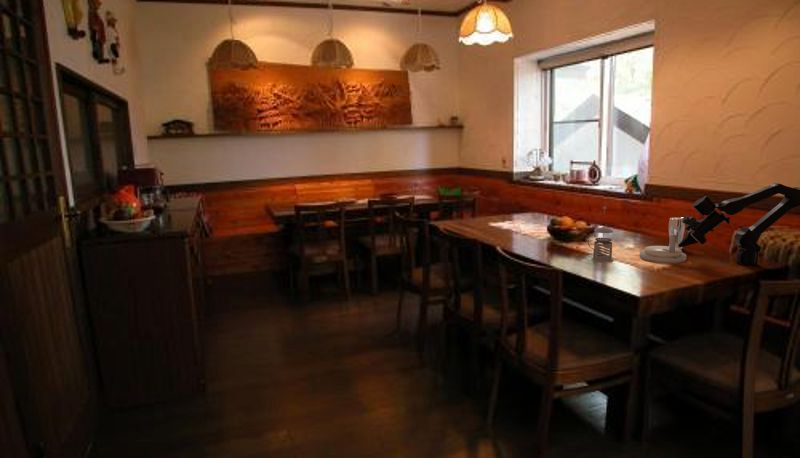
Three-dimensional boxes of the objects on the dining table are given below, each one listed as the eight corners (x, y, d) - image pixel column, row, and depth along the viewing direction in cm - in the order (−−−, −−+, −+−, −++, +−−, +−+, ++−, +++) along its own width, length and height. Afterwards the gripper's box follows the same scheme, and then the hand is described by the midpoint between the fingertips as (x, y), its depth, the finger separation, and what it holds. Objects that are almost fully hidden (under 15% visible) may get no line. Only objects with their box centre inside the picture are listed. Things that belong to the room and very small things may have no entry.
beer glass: (686, 249, 239) (688, 219, 236) (671, 249, 239) (673, 219, 236) (678, 246, 246) (680, 216, 243) (664, 246, 246) (666, 217, 243)
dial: (637, 251, 230) (638, 230, 229) (666, 248, 233) (667, 228, 231) (658, 258, 216) (659, 236, 214) (689, 256, 218) (690, 234, 216)
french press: (616, 262, 220) (618, 207, 215) (589, 262, 222) (590, 208, 218) (611, 257, 229) (613, 204, 225) (585, 257, 232) (587, 205, 227)
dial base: (630, 254, 232) (631, 250, 232) (667, 252, 235) (667, 247, 235) (657, 264, 214) (657, 259, 214) (696, 261, 217) (696, 256, 216)
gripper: (691, 206, 220) (662, 229, 226) (699, 212, 203) (668, 237, 209) (710, 224, 219) (680, 247, 225) (720, 232, 202) (687, 256, 208)
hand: (678, 246), depth 217 cm, fingers closed
